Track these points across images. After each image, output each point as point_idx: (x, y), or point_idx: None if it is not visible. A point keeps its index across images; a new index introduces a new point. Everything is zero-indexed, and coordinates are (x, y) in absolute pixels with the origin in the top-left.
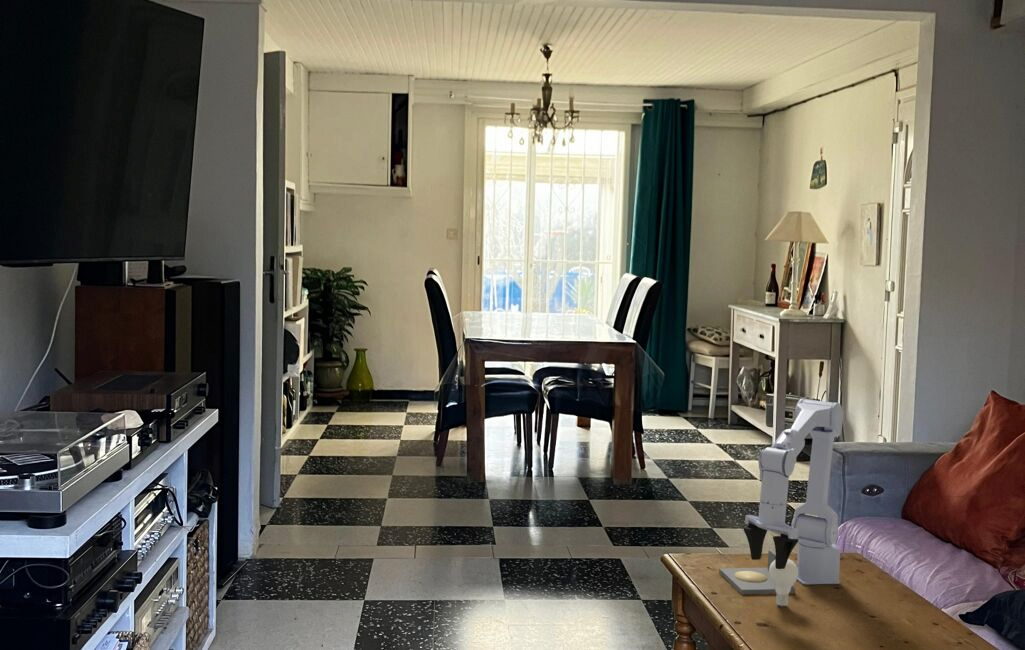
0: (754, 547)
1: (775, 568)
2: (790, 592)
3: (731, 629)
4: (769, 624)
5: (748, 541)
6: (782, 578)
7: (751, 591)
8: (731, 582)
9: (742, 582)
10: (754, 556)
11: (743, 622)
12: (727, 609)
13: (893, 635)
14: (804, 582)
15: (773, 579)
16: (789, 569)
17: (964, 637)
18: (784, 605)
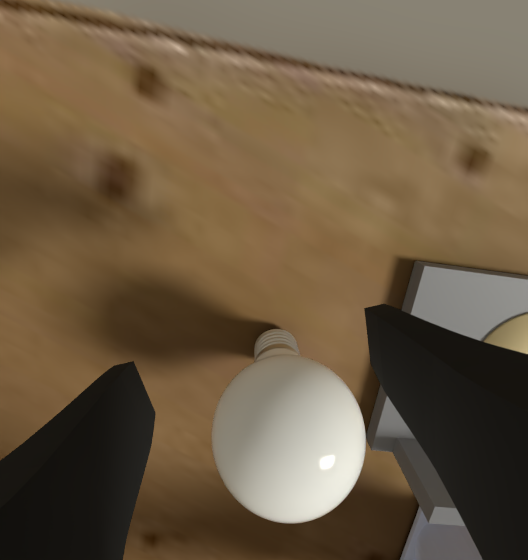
0: (414, 365)
1: (265, 396)
2: (371, 427)
3: (70, 4)
4: (114, 208)
5: (501, 350)
6: (226, 388)
7: (410, 301)
8: (525, 277)
9: (493, 309)
10: (375, 327)
11: (144, 110)
12: (291, 117)
13: None
14: None
15: (272, 356)
16: (219, 455)
17: None
18: (254, 346)
